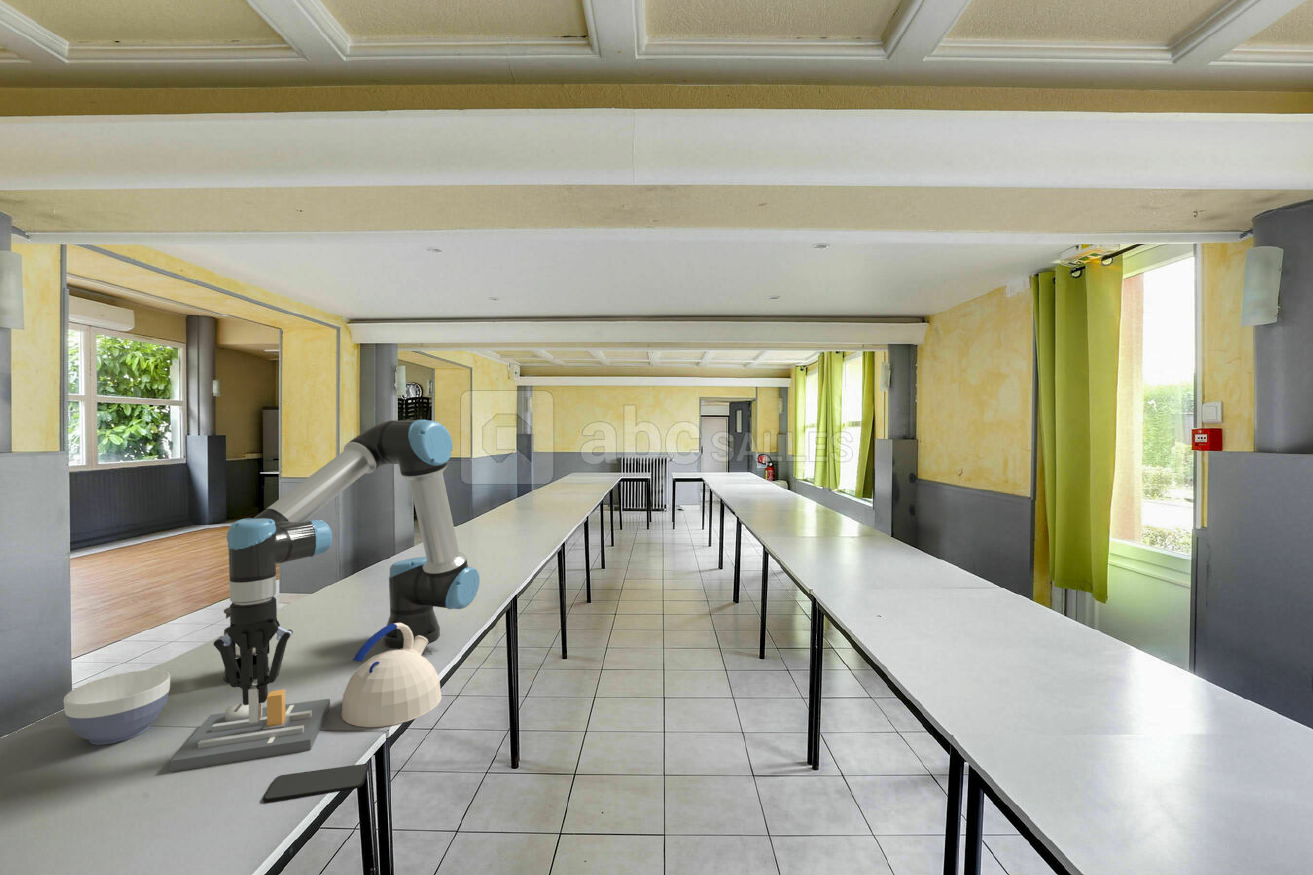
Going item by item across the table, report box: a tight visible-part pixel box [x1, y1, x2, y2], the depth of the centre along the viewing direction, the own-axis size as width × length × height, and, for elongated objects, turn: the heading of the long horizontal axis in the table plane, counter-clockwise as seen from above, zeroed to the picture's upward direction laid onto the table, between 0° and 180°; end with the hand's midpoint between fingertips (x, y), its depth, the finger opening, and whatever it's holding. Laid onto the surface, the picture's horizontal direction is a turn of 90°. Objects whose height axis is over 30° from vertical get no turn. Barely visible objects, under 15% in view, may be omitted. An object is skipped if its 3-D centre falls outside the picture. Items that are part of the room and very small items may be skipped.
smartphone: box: [262, 763, 369, 804], centre depth 102 cm, size 7×1×15 cm
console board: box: [170, 698, 331, 773], centre depth 118 cm, size 22×18×4 cm
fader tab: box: [263, 689, 290, 731], centre depth 117 cm, size 4×4×7 cm
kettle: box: [340, 623, 442, 728], centre depth 131 cm, size 20×21×18 cm
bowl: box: [63, 669, 171, 746], centre depth 119 cm, size 16×16×10 cm
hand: (255, 719), depth 116 cm, fingers closed
